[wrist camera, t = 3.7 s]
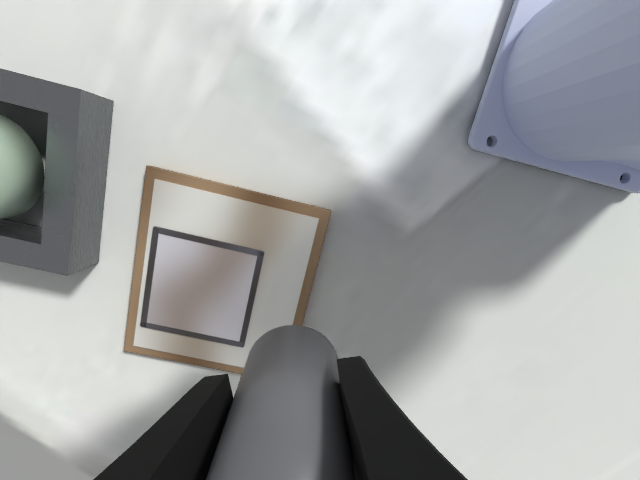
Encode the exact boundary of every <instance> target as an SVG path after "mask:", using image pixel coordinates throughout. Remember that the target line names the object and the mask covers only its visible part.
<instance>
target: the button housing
mask: <svg viewBox="0 0 640 480" xmlns="http://www.w3.org/2000/svg"><path fill="white" fill-rule="evenodd" d="M0 101H3V102H7V103H11V104H15V105H19V106H23V107H27V108H31V109H35V110H38V111H42V112H46V113H48V124H47V144H46V163H45V183H44V202H43V222H42V227H37V226H33V225H28V224H24V223H19V222H15V221H10V220H6V219H0V261H1V262H6V263H11V264H15V265H20V266H25V267H29V268H34V269H39V270H44V271H48V272H53V273H58V274H62V275H67V276H68V275H70V274H73V273H75V272H77V271H80V270H82V269H85V268H87V267H89V266H92V265H94V264H96V263H98V261H99V250H100V239H101V229H102V218H103V207H104V197H105V186H106V175H107V165H108V154H109V144H110V133H111V122H112V112H113V101H112V100H109V99H106V98H104V97H101V96H98V95H95V94H92V93H90V92H87V91H84V90H81V89H77V88H73V87H69V86H66V85H62V84H58V83H54V82H50V81H46V80H43V79H39V78H35V77H31V76H27V75H23V74H20V73H16V72H12V71H8V70H4V69H0Z"/></svg>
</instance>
